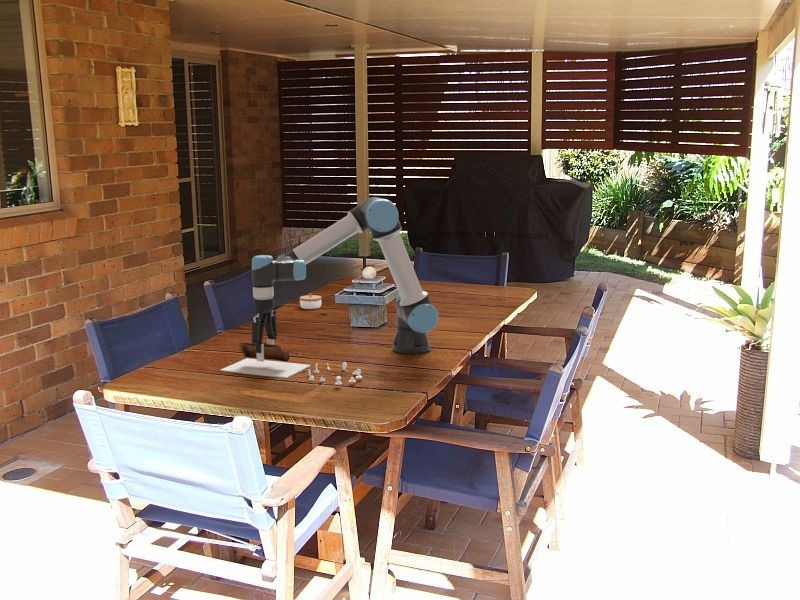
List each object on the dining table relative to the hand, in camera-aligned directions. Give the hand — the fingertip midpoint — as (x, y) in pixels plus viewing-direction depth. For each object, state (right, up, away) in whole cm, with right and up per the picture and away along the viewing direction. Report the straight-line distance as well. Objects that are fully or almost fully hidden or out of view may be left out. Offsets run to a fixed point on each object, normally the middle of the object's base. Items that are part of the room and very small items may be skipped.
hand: (265, 358), depth 312 cm
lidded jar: (+6, +15, +103) cm, 105 cm away
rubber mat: (0, -4, +1) cm, 4 cm away
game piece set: (+26, -6, -10) cm, 29 cm away
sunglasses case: (-2, +2, -4) cm, 4 cm away
